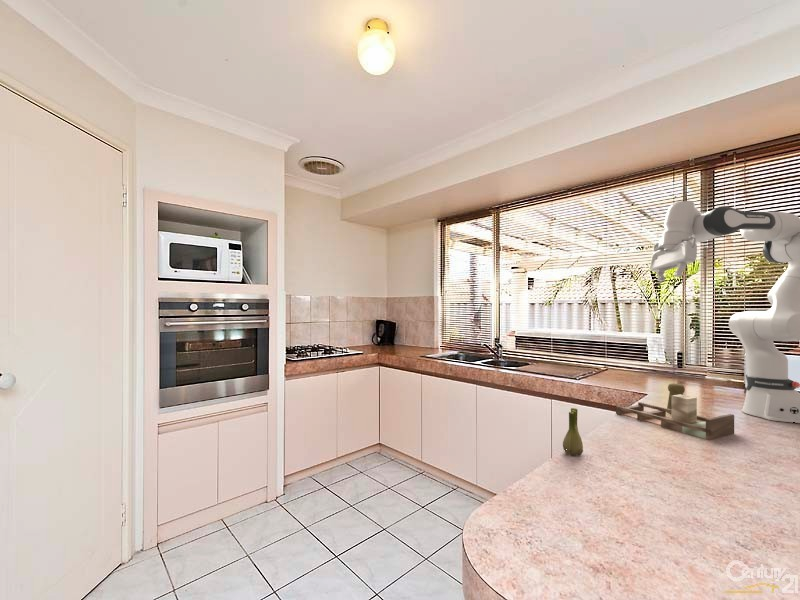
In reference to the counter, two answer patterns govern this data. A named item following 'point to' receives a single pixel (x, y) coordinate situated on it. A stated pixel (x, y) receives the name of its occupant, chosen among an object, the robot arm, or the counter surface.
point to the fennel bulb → (573, 436)
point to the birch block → (684, 408)
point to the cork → (674, 392)
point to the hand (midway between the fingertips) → (669, 278)
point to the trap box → (701, 428)
